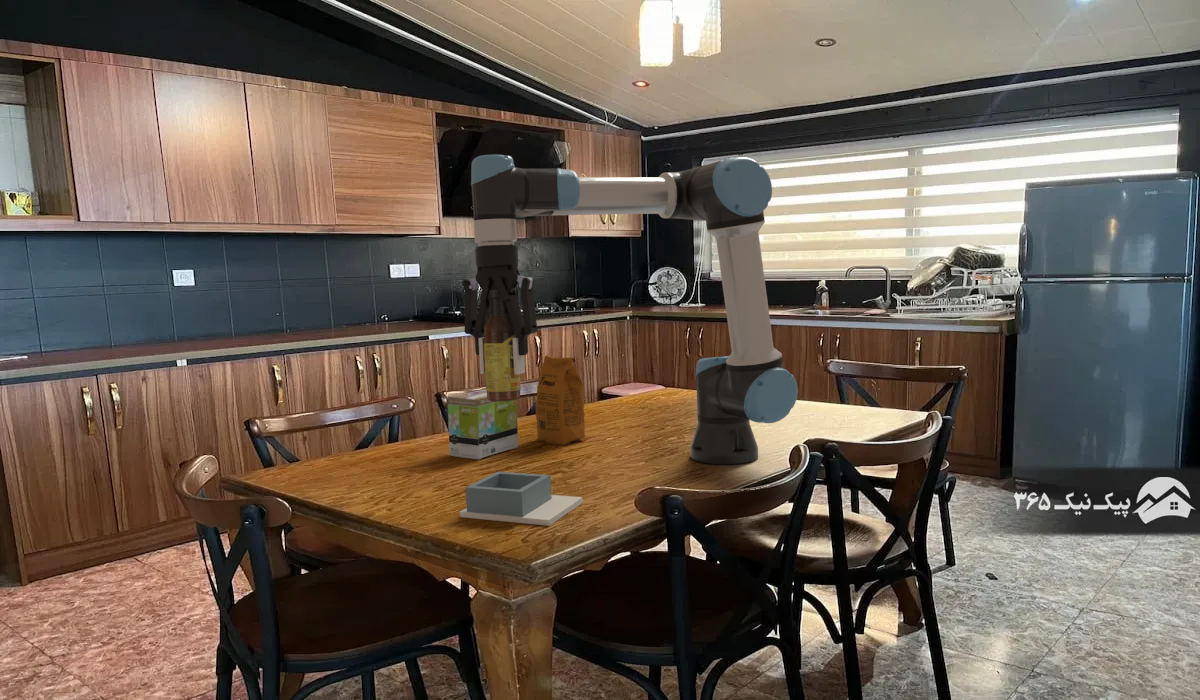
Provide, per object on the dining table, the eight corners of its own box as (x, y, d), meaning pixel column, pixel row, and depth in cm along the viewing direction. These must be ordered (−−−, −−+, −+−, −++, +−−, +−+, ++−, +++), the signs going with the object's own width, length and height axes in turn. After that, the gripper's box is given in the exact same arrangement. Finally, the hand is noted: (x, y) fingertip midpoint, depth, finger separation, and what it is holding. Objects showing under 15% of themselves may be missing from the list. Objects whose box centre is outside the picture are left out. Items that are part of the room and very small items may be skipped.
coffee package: (561, 434, 213) (557, 352, 211) (590, 440, 203) (587, 355, 201) (531, 440, 207) (526, 356, 204) (559, 447, 197) (555, 359, 195)
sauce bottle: (519, 402, 141) (513, 290, 139) (484, 403, 141) (478, 291, 139) (523, 396, 147) (518, 289, 145) (489, 397, 147) (484, 290, 145)
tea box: (480, 460, 186) (477, 398, 185) (448, 456, 192) (445, 396, 190) (520, 447, 199) (517, 388, 198) (489, 444, 204) (486, 387, 203)
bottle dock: (582, 502, 149) (581, 474, 149) (549, 525, 136) (548, 494, 136) (499, 495, 156) (497, 468, 156) (460, 517, 143) (458, 487, 143)
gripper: (554, 242, 141) (559, 371, 143) (461, 247, 148) (468, 369, 151) (534, 241, 134) (540, 376, 136) (438, 246, 142) (446, 375, 144)
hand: (502, 372), depth 144 cm, fingers closed on sauce bottle, 6 cm apart
